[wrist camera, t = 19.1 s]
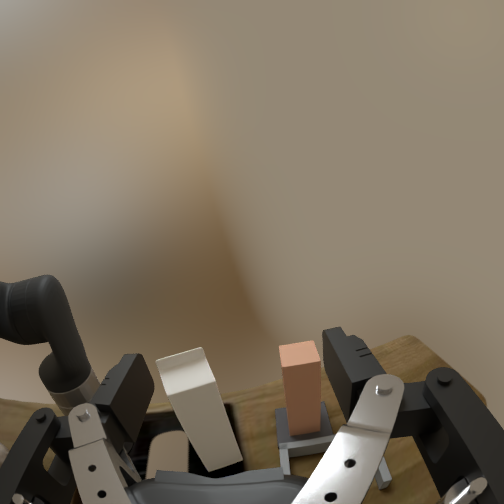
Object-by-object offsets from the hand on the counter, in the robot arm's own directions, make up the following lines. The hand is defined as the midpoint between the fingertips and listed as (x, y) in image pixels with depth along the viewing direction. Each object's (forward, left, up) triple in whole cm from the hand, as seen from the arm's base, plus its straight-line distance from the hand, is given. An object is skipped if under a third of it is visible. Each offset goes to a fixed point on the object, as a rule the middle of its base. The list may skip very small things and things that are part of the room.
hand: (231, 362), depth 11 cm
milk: (-9, +16, -32) cm, 37 cm away
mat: (+5, +21, -32) cm, 39 cm away
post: (+5, +21, -32) cm, 38 cm away
